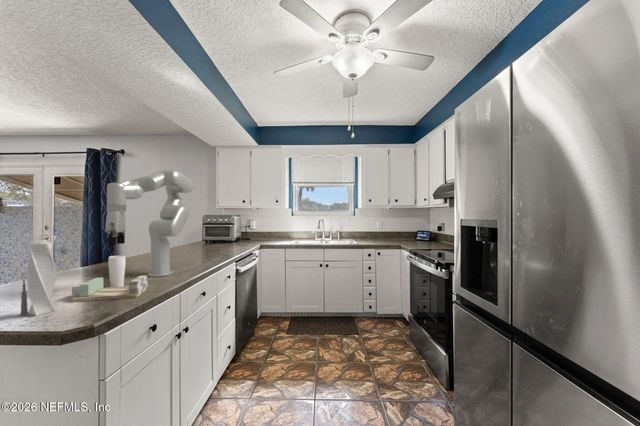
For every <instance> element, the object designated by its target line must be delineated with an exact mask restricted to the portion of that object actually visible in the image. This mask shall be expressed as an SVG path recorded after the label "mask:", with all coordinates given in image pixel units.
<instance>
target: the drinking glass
mask: <svg viewBox="0 0 640 426" xmlns="http://www.w3.org/2000/svg"><path fill="white" fill-rule="evenodd" d="M107 260H108V261H107V263H108V273H109V282H110V283H109V284H110V286H109V287H122V286H125V274H126V261H127V260H126V255H122V254H121V255H110V256H108V259H107Z"/></svg>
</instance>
